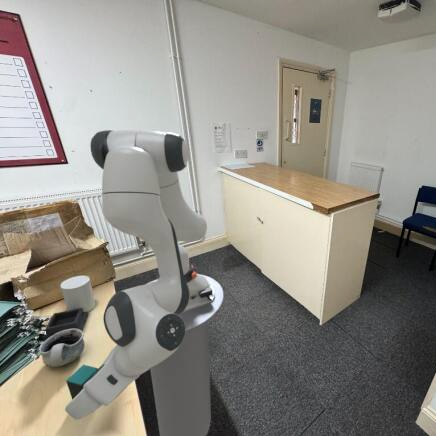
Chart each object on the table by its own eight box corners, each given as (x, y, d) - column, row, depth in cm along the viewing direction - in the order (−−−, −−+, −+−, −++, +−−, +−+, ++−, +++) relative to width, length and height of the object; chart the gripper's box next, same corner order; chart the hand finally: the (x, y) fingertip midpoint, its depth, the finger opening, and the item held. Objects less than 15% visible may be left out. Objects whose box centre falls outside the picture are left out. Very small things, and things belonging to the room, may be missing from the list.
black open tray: (88, 314, 88) (86, 306, 87) (82, 332, 81) (79, 323, 80) (52, 321, 84) (50, 313, 82) (42, 341, 76) (39, 332, 75)
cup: (100, 302, 94) (95, 277, 90) (80, 317, 87) (73, 290, 83) (83, 299, 95) (77, 274, 91) (61, 312, 88) (54, 286, 84)
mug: (85, 339, 78) (79, 316, 75) (91, 366, 70) (84, 341, 67) (44, 356, 72) (35, 331, 68) (45, 387, 64) (35, 361, 60)
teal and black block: (89, 387, 65) (83, 364, 62) (103, 391, 64) (98, 368, 61) (73, 404, 61) (65, 380, 58) (88, 408, 60) (81, 384, 57)
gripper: (153, 316, 63) (126, 335, 68) (77, 392, 44) (46, 413, 49) (170, 332, 64) (142, 350, 69) (102, 413, 45) (69, 431, 50)
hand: (101, 377), depth 59 cm, fingers open, 8 cm apart
